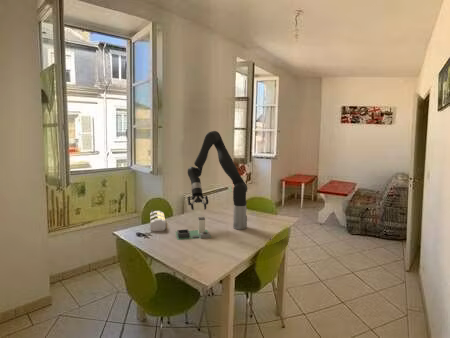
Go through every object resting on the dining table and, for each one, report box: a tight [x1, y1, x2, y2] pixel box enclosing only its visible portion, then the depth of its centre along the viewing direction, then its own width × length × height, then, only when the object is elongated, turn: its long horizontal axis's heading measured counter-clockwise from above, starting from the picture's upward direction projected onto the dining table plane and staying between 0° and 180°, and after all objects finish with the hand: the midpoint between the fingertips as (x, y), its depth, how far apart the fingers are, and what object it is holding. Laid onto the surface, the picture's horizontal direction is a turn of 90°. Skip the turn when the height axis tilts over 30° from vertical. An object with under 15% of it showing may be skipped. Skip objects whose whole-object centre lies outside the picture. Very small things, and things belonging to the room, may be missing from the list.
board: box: [174, 229, 212, 241], centre depth 210 cm, size 22×16×4 cm
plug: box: [197, 216, 206, 235], centre depth 212 cm, size 4×4×11 cm
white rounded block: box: [149, 210, 167, 232], centre depth 232 cm, size 25×10×13 cm, turn 14°
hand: (199, 209), depth 221 cm, fingers open, 8 cm apart
